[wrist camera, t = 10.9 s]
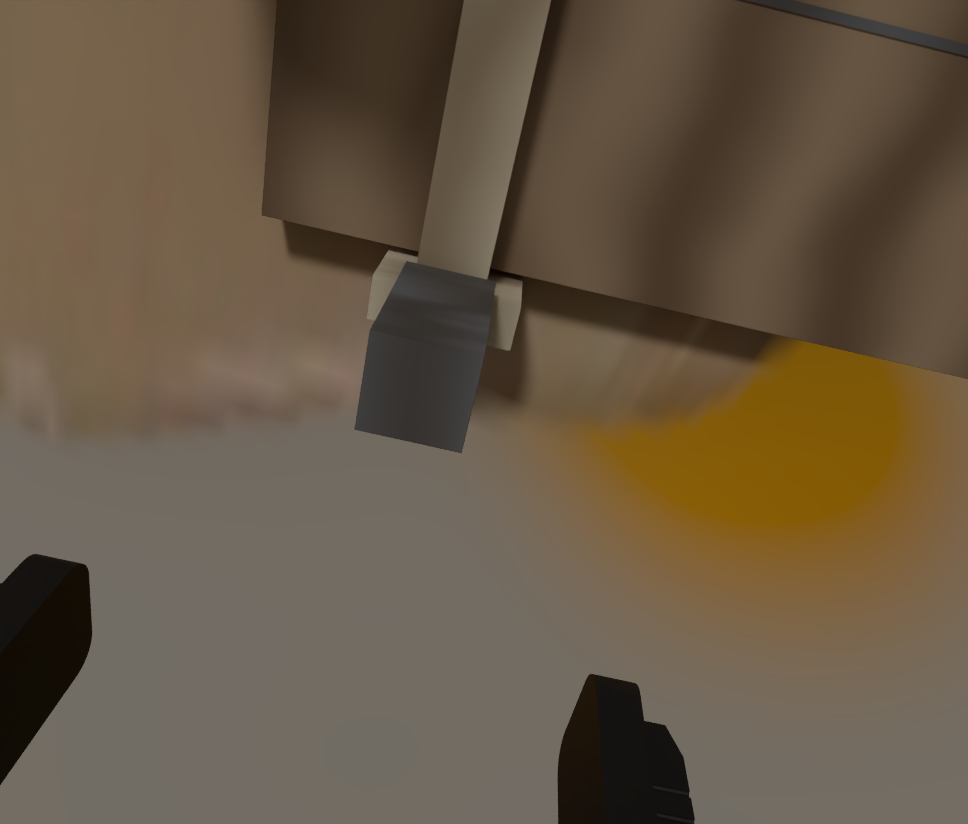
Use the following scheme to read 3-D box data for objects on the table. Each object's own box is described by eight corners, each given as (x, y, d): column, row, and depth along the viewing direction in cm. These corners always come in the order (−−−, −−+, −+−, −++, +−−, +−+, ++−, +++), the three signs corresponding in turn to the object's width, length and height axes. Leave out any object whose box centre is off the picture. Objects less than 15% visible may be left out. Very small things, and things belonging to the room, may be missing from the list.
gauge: (606, -61, 23) (647, -103, 14) (509, 326, 29) (497, 460, 21) (448, -101, 23) (393, -169, 14) (384, 297, 29) (318, 421, 20)
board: (1282, -24, 23) (1345, -27, 21) (1027, 376, 30) (1059, 400, 28) (318, -277, 22) (298, -303, 20) (278, 202, 28) (261, 215, 26)
